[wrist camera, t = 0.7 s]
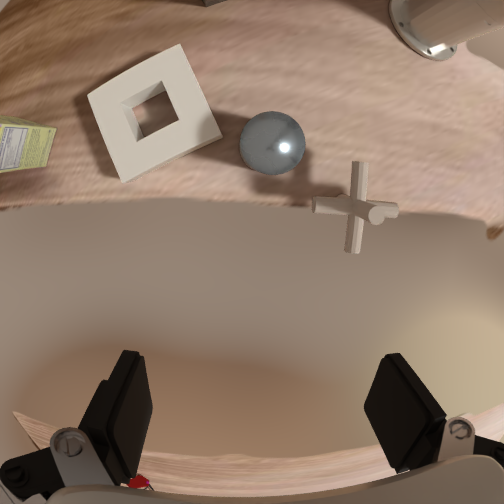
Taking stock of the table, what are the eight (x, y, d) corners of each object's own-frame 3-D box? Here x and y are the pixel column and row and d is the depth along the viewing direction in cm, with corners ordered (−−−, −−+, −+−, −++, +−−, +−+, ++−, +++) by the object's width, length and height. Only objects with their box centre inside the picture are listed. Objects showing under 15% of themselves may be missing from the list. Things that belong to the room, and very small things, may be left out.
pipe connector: (300, 238, 37) (322, 265, 27) (305, 158, 34) (331, 156, 24) (372, 240, 37) (410, 265, 28) (379, 166, 35) (422, 170, 25)
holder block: (185, 55, 29) (179, 43, 25) (223, 137, 33) (221, 134, 29) (100, 100, 30) (86, 95, 26) (134, 181, 34) (122, 183, 30)
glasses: (150, 474, 52) (147, 489, 48) (168, 499, 57) (166, 513, 52) (100, 466, 52) (96, 480, 47) (123, 493, 57) (120, 506, 52)
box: (3, 152, 30) (-50, 157, 19) (13, 116, 29) (-40, 111, 18) (46, 168, 32) (-10, 176, 21) (58, 128, 31) (2, 123, 19)
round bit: (278, 115, 32) (290, 102, 25) (297, 161, 34) (314, 161, 26) (231, 134, 33) (229, 125, 25) (251, 180, 34) (255, 184, 27)
